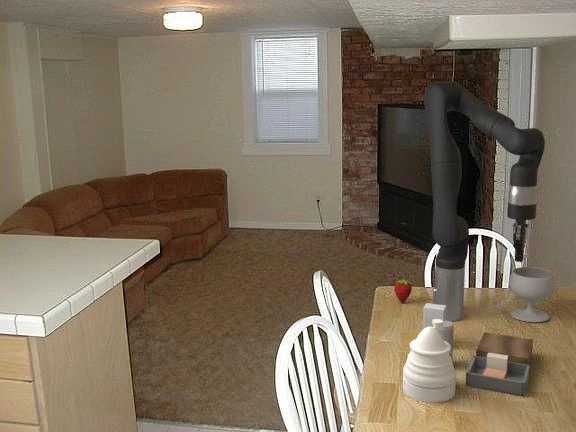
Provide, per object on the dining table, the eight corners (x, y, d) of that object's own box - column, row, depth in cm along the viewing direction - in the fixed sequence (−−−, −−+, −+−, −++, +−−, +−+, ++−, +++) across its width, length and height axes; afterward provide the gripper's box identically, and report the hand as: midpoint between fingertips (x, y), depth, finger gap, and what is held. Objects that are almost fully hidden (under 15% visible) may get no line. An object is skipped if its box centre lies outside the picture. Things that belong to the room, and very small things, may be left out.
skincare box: (446, 343, 182) (447, 305, 180) (443, 349, 179) (444, 310, 176) (425, 340, 185) (426, 302, 182) (422, 346, 181) (423, 307, 179)
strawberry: (412, 300, 218) (413, 273, 216) (410, 307, 211) (410, 279, 209) (395, 299, 220) (396, 272, 218) (392, 306, 213) (392, 278, 211)
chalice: (498, 316, 202) (500, 272, 199) (521, 305, 211) (523, 263, 208) (539, 328, 192) (542, 281, 189) (561, 316, 201) (564, 272, 197)
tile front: (486, 367, 160) (486, 376, 161) (481, 375, 156) (481, 384, 157) (506, 371, 158) (506, 380, 158) (502, 379, 154) (502, 389, 154)
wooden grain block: (475, 367, 167) (476, 350, 166) (483, 348, 178) (484, 332, 177) (527, 376, 161) (528, 358, 160) (532, 356, 173) (533, 339, 172)
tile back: (487, 370, 164) (485, 374, 162) (488, 352, 163) (486, 356, 161) (507, 373, 162) (506, 377, 160) (508, 355, 161) (507, 359, 159)
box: (465, 385, 157) (466, 373, 157) (473, 367, 167) (473, 355, 166) (524, 396, 151) (525, 383, 150) (528, 377, 161) (529, 364, 160)
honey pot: (437, 374, 164) (439, 309, 160) (465, 396, 152) (468, 327, 148) (393, 382, 160) (394, 316, 156) (419, 406, 148) (420, 335, 144)
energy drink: (429, 361, 171) (430, 320, 169) (448, 359, 172) (449, 319, 169) (435, 369, 166) (436, 327, 164) (455, 368, 167) (456, 326, 164)
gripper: (511, 196, 180) (508, 253, 183) (504, 204, 168) (501, 266, 172) (538, 197, 176) (535, 256, 180) (534, 206, 165) (530, 269, 169)
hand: (518, 261), depth 176 cm, fingers closed
